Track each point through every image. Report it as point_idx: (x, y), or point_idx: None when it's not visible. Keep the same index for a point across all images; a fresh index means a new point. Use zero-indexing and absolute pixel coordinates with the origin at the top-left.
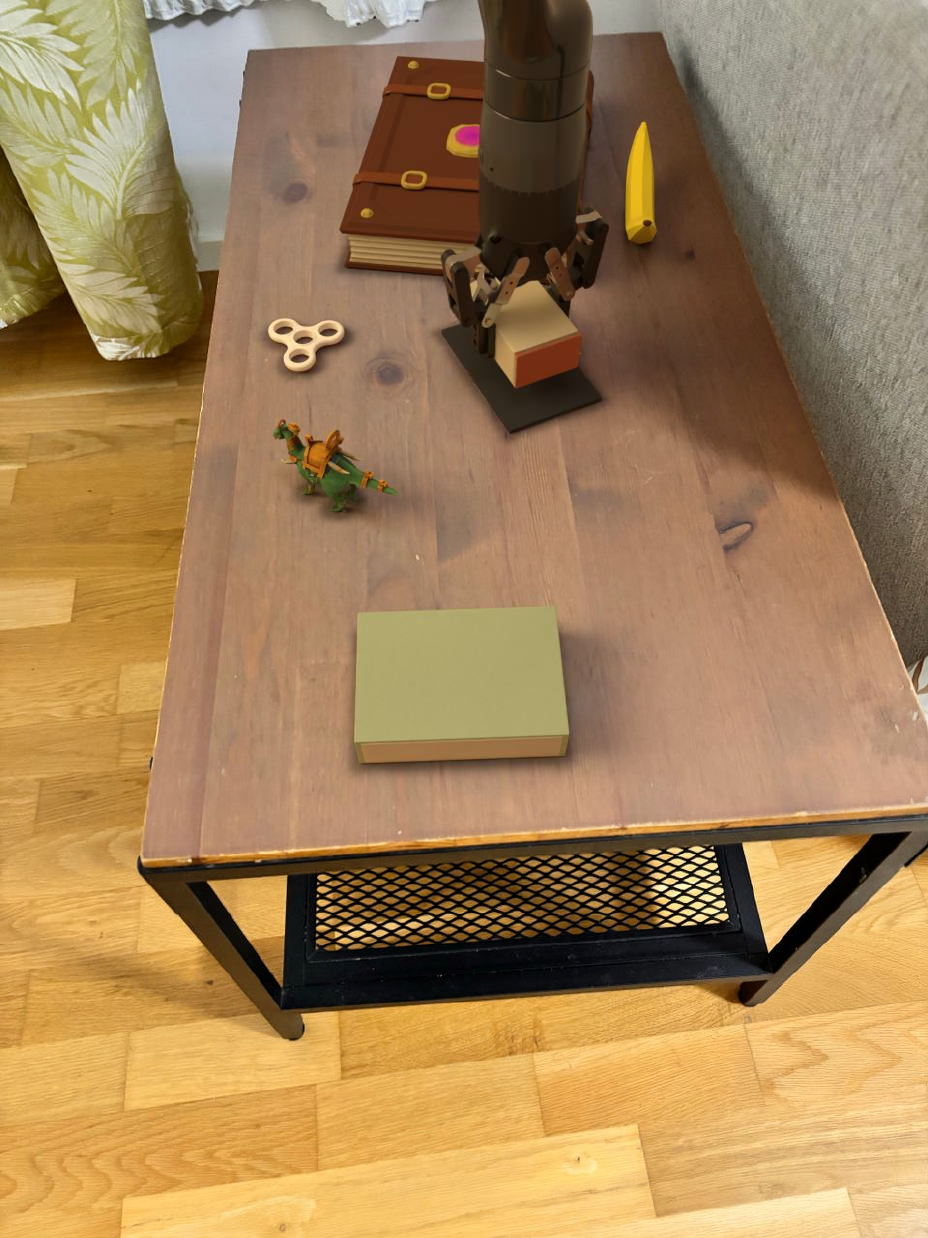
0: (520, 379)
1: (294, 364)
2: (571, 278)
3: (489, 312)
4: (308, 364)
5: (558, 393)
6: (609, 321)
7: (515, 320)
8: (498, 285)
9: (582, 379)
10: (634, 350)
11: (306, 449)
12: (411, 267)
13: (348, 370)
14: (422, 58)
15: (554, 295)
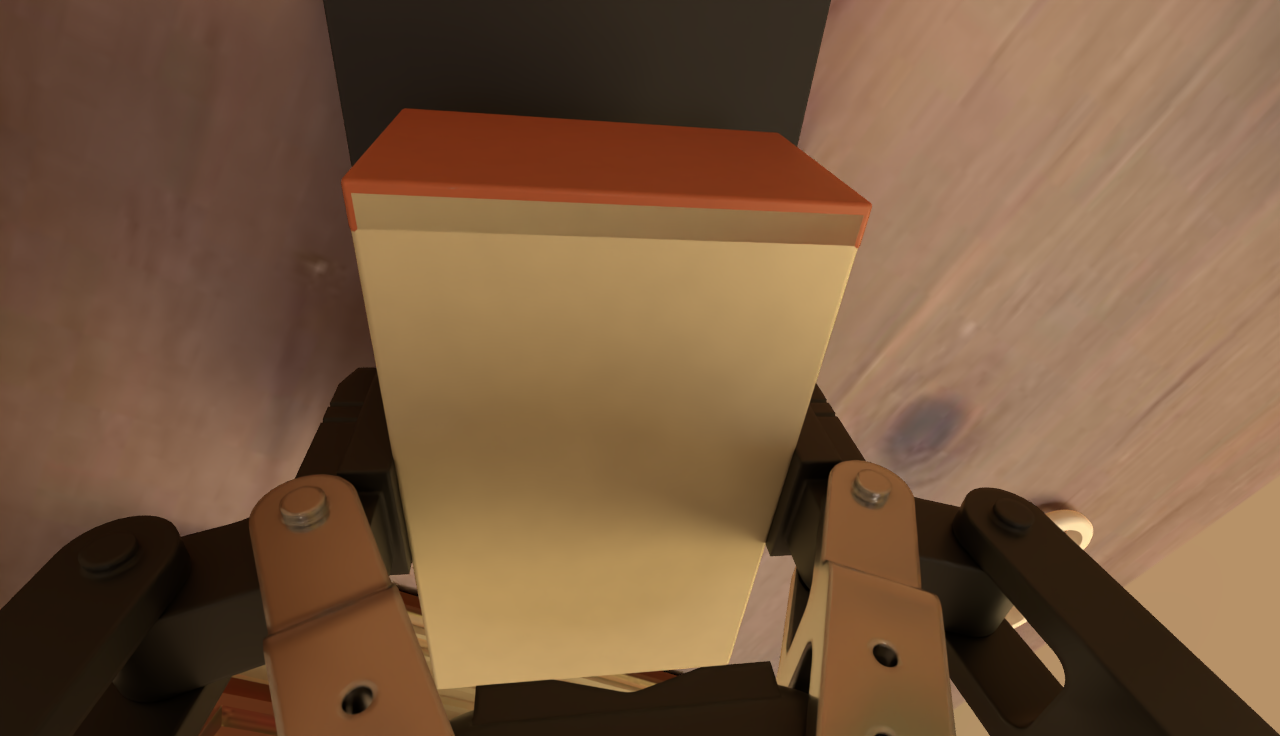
0: (774, 143)
1: (1088, 530)
2: (245, 612)
3: (893, 536)
4: (1062, 520)
5: (517, 90)
6: (123, 364)
7: (678, 454)
8: (800, 689)
9: (368, 113)
10: (31, 173)
11: None
12: (651, 679)
13: (984, 477)
14: None
15: (388, 527)
